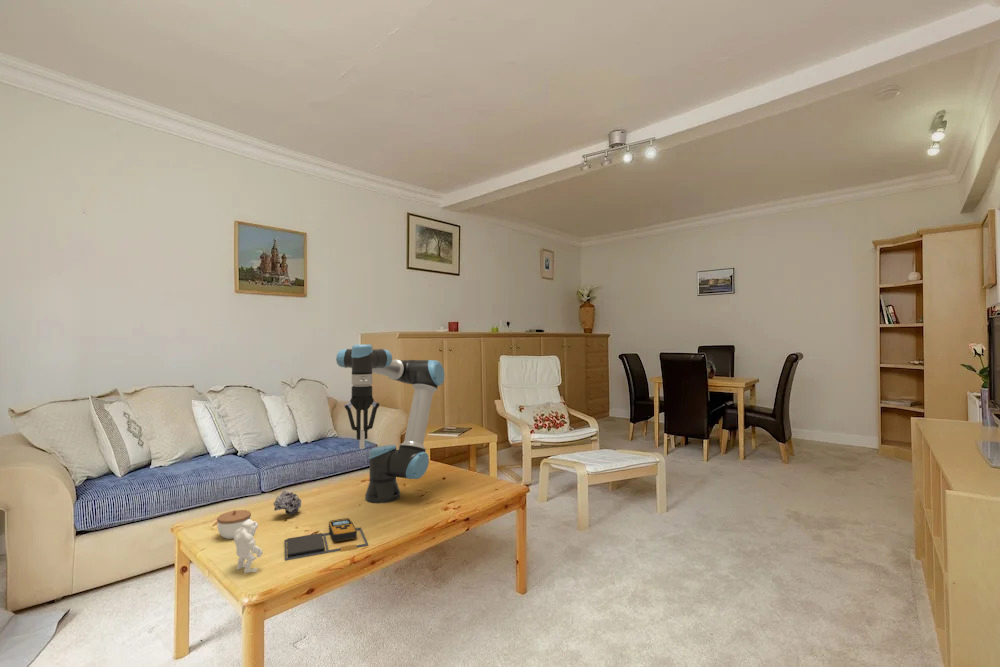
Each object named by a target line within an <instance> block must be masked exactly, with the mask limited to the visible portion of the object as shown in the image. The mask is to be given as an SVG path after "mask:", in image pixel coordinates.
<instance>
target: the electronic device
mask: <svg viewBox="0 0 1000 667" xmlns="http://www.w3.org/2000/svg"><path fill="white" fill-rule="evenodd" d="M355 528H356V527H355V525H354V523H353V522H352V520H351V519H350V518H349V517H346V518H345V517H344V518H339V519H332V520H329V521H328V530H329V532H330V534H331V535H330V537H331V538H332V541H333V542H335V543H336V542H340V541H348V540H354V539H356V538H357V535H358V534H357V532H358V530H357V531H356V529H355Z"/></svg>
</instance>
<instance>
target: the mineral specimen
mask: <svg viewBox="0 0 1000 667" xmlns="http://www.w3.org/2000/svg"><path fill="white" fill-rule="evenodd" d="M273 506H274V509H273V510H274V511H278V510H279V511H281V510H284V511H285V514H287V515H290V516H294V515H295V514H296V513H298V512H299V510H300V508H301V507H302V499H300V498H299V495H298V494H296V493H294V492H292V491H290V492H289V491H286V490H283V491H282V492H281V493H280V495H278V496H277V497H276V498H275V501H274V502H273Z"/></svg>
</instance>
